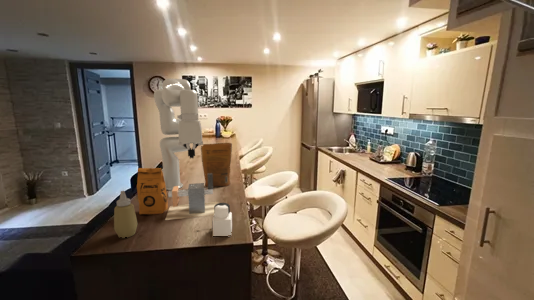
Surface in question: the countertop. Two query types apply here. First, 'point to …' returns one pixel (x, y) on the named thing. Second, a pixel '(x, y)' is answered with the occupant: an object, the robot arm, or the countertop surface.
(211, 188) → the l-shaped metal bar
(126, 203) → the squeeze bottle
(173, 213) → the board
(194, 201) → the metal block
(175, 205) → the collar
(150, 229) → the countertop surface
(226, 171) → the pancake mix bag
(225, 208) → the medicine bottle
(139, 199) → the coffee package
